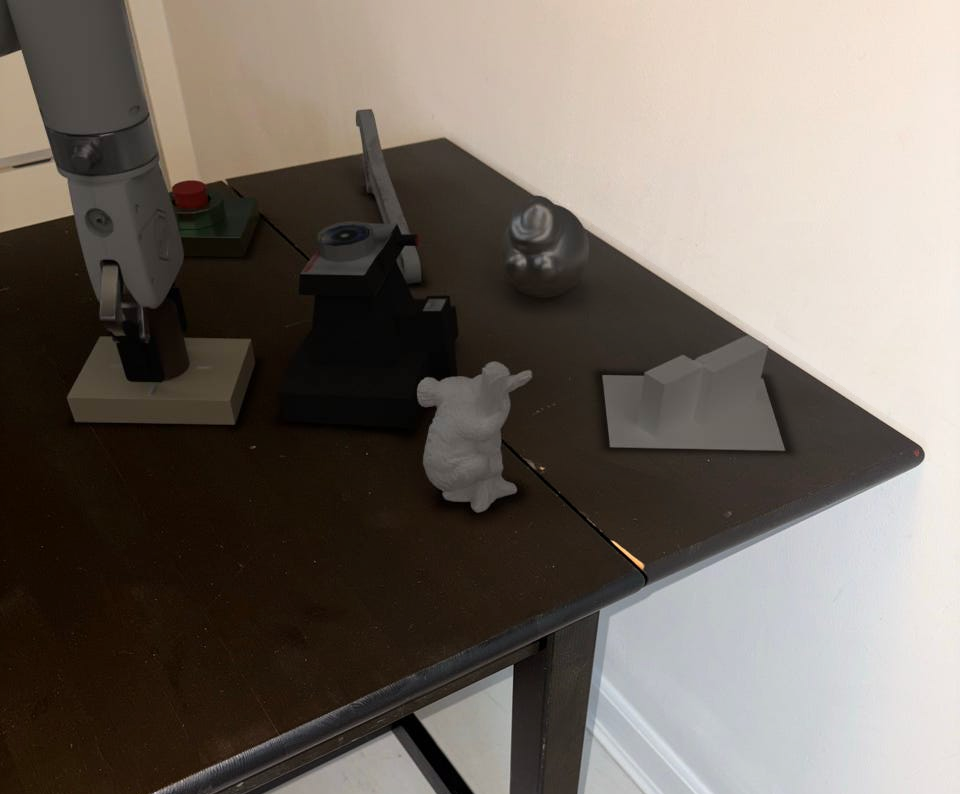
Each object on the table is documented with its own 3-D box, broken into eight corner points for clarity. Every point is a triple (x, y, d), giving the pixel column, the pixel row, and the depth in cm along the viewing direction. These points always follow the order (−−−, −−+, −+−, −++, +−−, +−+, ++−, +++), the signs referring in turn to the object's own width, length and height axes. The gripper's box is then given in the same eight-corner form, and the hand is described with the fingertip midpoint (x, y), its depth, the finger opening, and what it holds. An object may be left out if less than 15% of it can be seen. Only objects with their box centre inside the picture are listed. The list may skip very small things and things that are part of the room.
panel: (75, 422, 86) (65, 395, 84) (107, 360, 92) (99, 334, 91) (235, 425, 86) (229, 398, 84) (255, 362, 92) (250, 337, 90)
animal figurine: (534, 478, 81) (542, 347, 72) (514, 530, 76) (520, 397, 67) (435, 461, 82) (431, 330, 73) (411, 511, 78) (402, 378, 69)
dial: (182, 382, 85) (167, 321, 81) (127, 380, 86) (109, 319, 81) (195, 352, 89) (181, 292, 84) (142, 351, 89) (126, 290, 85)
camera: (313, 190, 87) (478, 190, 84) (343, 339, 97) (491, 344, 94) (245, 274, 76) (430, 277, 73) (287, 431, 87) (451, 440, 83)
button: (171, 210, 106) (168, 193, 105) (179, 196, 109) (175, 179, 107) (204, 210, 106) (201, 194, 105) (211, 196, 109) (208, 180, 107)
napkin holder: (762, 376, 91) (776, 320, 87) (787, 450, 83) (803, 392, 79) (600, 375, 91) (606, 318, 87) (610, 448, 84) (617, 390, 79)
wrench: (405, 312, 104) (358, 167, 121) (422, 310, 105) (372, 165, 122) (403, 242, 98) (353, 99, 115) (421, 240, 98) (369, 98, 115)
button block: (133, 255, 107) (124, 219, 104) (156, 215, 114) (148, 179, 111) (243, 257, 107) (237, 220, 104) (260, 216, 113) (254, 181, 111)
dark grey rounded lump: (478, 286, 103) (479, 189, 95) (554, 265, 106) (560, 169, 99) (525, 325, 97) (529, 225, 90) (603, 301, 101) (613, 202, 93)
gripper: (120, 193, 67) (177, 412, 80) (181, 101, 79) (222, 305, 92) (12, 191, 67) (86, 410, 80) (88, 100, 79) (142, 304, 92)
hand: (158, 353), depth 86 cm, fingers open, 7 cm apart
